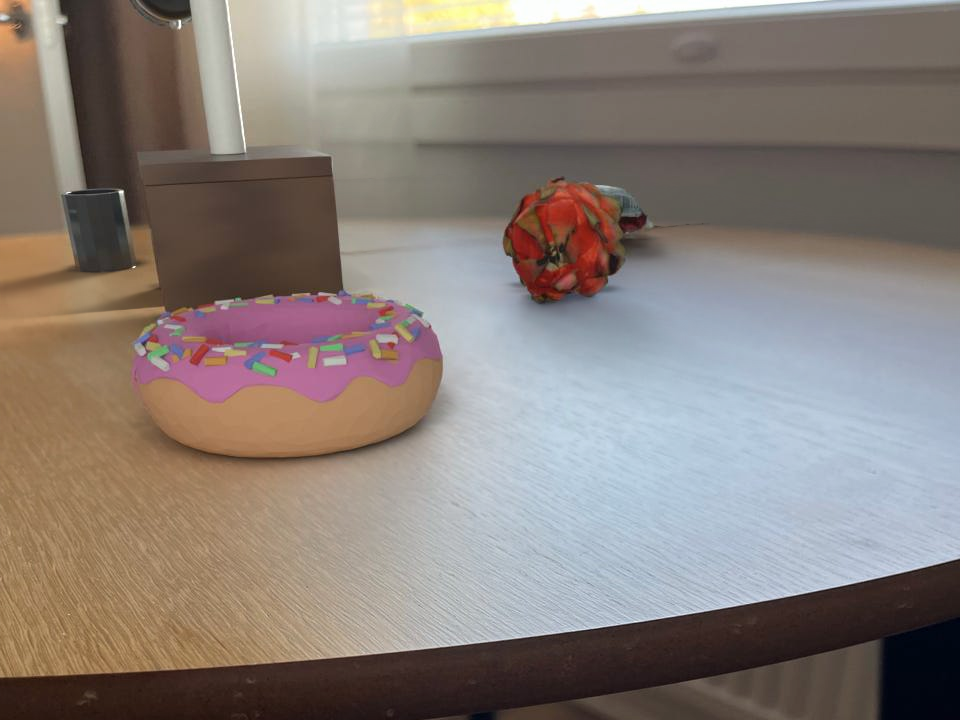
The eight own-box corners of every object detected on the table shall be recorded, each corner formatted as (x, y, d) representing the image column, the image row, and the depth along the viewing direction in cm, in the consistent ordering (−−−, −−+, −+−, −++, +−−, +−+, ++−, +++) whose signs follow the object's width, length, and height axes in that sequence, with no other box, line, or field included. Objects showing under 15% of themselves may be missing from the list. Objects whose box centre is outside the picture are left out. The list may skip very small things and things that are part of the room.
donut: (429, 374, 57) (425, 279, 54) (462, 458, 44) (458, 340, 42) (164, 390, 55) (147, 293, 53) (120, 482, 43) (96, 361, 40)
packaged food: (524, 235, 102) (524, 181, 100) (643, 232, 102) (646, 178, 99) (524, 250, 95) (524, 192, 92) (653, 247, 94) (656, 189, 92)
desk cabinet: (168, 329, 68) (140, 165, 64) (160, 292, 80) (136, 152, 75) (345, 313, 71) (331, 155, 67) (312, 280, 83) (299, 144, 78)
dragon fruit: (587, 300, 81) (561, 359, 72) (499, 234, 79) (462, 286, 70) (654, 209, 76) (636, 261, 67) (562, 136, 74) (530, 179, 65)
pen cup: (76, 279, 86) (59, 196, 83) (78, 270, 91) (62, 190, 87) (138, 275, 88) (123, 192, 85) (137, 266, 92) (123, 187, 89)
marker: (211, 155, 70) (175, -97, 63) (208, 153, 72) (173, -91, 65) (249, 153, 70) (219, -96, 63) (245, 151, 72) (215, -90, 66)
